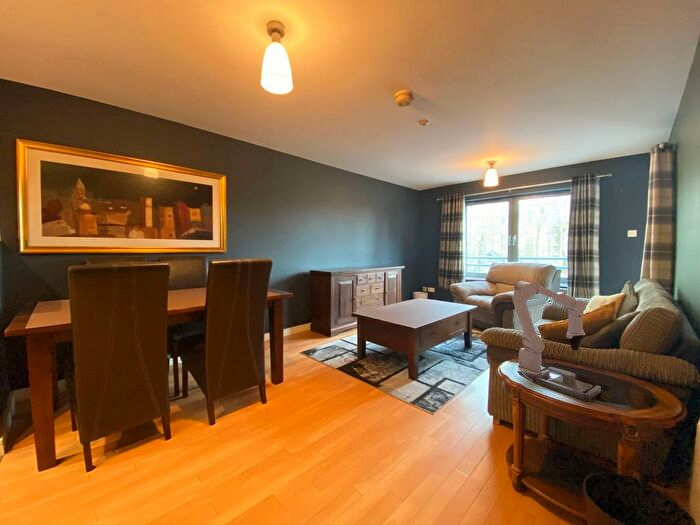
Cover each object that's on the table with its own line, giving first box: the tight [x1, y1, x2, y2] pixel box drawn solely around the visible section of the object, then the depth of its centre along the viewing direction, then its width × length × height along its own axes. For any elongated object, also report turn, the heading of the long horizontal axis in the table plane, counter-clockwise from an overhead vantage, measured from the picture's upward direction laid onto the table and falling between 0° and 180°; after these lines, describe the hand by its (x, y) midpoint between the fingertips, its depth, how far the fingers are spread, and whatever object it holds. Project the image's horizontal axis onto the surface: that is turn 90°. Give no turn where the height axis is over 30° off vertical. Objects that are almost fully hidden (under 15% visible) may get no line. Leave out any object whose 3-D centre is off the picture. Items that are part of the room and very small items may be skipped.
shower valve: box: [547, 366, 594, 393], centre depth 130 cm, size 12×6×15 cm
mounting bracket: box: [532, 369, 602, 403], centre depth 127 cm, size 20×13×2 cm, turn 32°
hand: (574, 349), depth 145 cm, fingers closed
